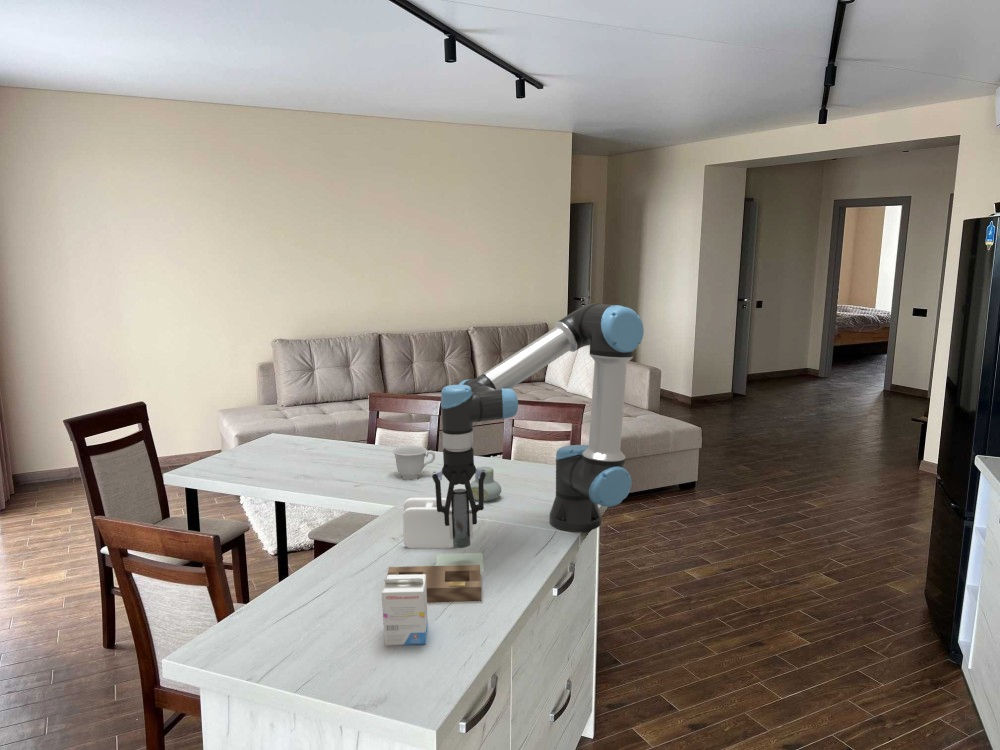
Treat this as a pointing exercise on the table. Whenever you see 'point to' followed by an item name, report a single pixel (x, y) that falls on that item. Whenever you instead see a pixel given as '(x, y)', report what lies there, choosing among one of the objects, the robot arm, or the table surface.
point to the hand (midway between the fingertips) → (461, 536)
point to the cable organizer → (425, 524)
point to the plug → (460, 518)
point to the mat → (460, 559)
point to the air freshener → (486, 485)
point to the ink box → (405, 609)
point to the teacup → (411, 460)
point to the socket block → (447, 582)
